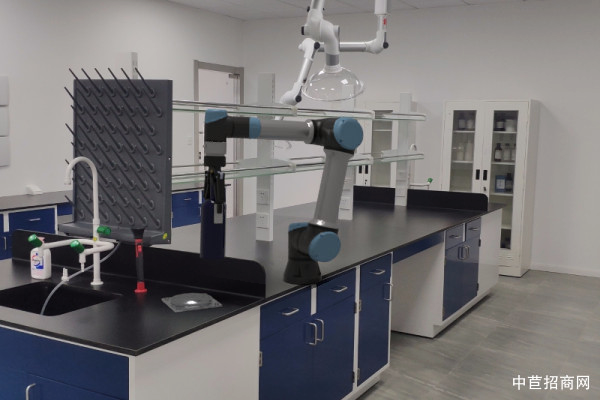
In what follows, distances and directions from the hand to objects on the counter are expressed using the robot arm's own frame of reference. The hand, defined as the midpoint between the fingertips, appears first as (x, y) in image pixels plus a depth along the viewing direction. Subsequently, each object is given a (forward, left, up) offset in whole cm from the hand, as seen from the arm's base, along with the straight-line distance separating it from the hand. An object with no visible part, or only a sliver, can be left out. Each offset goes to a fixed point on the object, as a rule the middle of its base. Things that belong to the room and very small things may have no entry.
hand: (213, 221), depth 215 cm
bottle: (0, 0, -13) cm, 13 cm away
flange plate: (+8, +2, -27) cm, 29 cm away
